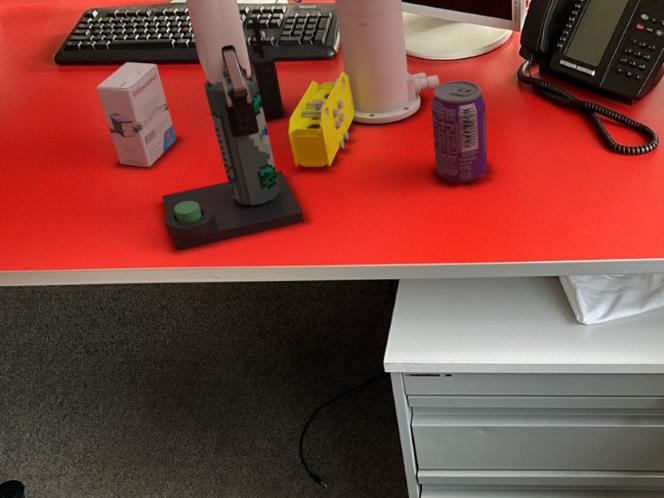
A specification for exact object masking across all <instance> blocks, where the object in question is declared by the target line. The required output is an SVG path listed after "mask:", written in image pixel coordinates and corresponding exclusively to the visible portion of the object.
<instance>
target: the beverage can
mask: <svg viewBox="0 0 664 498" xmlns="http://www.w3.org/2000/svg"><path fill="white" fill-rule="evenodd" d="M433 95H434V96H433V98H432V101H431V106H430V107H431V108H430V109H431V120H432V134H433V148H434V160H435V171H436V174H437V175H438V176H439V177H441V178H442V179H445V180H448V181H451V182H456V183H465V182H466V183H467V182H471V181H473V180H476V179H478V178H481V177H482V176H484V175H485V174H486V173H487V171H488V145H487V143H488V142H487V141H488V140H487V111H486V101H485V99H484V96H483V95H482V88H481V86H480V85H479V84H477V83H475V82H473V81H468V80H450V81H445V82H442V83H439V85H438V86H437V87H436V88H434V89H433Z"/></svg>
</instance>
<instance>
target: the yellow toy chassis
mask: <svg viewBox="0 0 664 498" xmlns="http://www.w3.org/2000/svg"><path fill="white" fill-rule="evenodd" d="M353 118H354V107H353V100H352V95H351V89H350V83H349V78H348V76H347V75H346V74H345V71H342V72H341V73H340V75H339V77H336V79H335V81H329V82H328V81H327V82H326V81H325V82H322V83H320V84H319V83H318V82H317V81H315V80H312V81H311V82H310V84H309V86H308V87H307V89H306V91H305V92H304V94H303V96H302V97H301V99H300V101H299V103H298V104H297V106H296V108H295V109H294V110H293V112H292V114H291V116H290V118H289V123H288V132H287V135H288V139H289V144H290V145H289V146H290V150H291V152H292V157H293V162H294V166H295V167H298V166H299V165H300V166H302V167H304V168H311V167H312V168H323V167H325V166H327V167H331V165H332V163H333V161H334V160H335V157H336V155H337V152H338V151H339V149H340V150H341V149H345V141H349V137H350V136H349V131H348V130H349V128H350V126H351V124H352V122H353ZM344 140H345V141H344Z"/></svg>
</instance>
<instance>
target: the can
mask: <svg viewBox="0 0 664 498" xmlns="http://www.w3.org/2000/svg"><path fill="white" fill-rule="evenodd" d="M223 75H224V79H227V78H230V77H229V74H228V73H226V74H223ZM205 81H206V82H204V83H203V88H204V92H205V96H206V99H207V104H208V108H209V110H210V114H211V119H212V122H213V127H214V131H215V135H216V139H217V143H218V147H219V150H220V154H221V155H220V156H221V158H222V162H223V166H224V170H225V174H226V178H227V182H228V183H229V187H230V191H231V195H232V198H233V201H237V204H238V203H241V204H244V205H249V204H251V205H257V204H262V203H267V201H269V200H273V198H276V197H275V196H278V192H280V188H279V184H278V179H277V174H276V171H277V169H276V165H275V161H274V155H273V152H272V151H273V150H272V146H271V142H270V137H269V131H268V127H267V123H266V119H265V117H264V112H263V107H262V103H261V98H260V93H259V88H258V84H257V80H256V78H255V75H253V76H251V75H250V77H249V78H248V79H247V78H246V81H247V85H248V89H249V93H250V97H251V100H252V101H253V104H254V109H255V114H256V118H257V123H258V128H259V132H258V133H257V134H252V135H247V136H242V137H237V138H235V137H233V135H232V133H231V128H230V124H229V120H228V116H227V111H226V107H225V105H227V101H226V97H225V94H224V90H223V86H222V83H221V82H216V85H213V84H211V83H210V82H209V81H208V79H206V80H205ZM227 85H228V89H229V92H230V89H232V84H227Z"/></svg>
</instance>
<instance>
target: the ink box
mask: <svg viewBox="0 0 664 498" xmlns="http://www.w3.org/2000/svg"><path fill="white" fill-rule="evenodd" d="M96 91H97V92H98V96H99V99H100V103H101V105H102V109H103V113H104V116H105V119H106V121H107V125H108V128H109V132H110V135H111V139H112V141H113V144H114V147H115V151H116V154H117V157H118V161H119V164H121V165H127V166H134V167H143V168H149V167H151V166H153V164H155V162H156V161H157V160H158V159H159V158H160V157H161V156H162V155H163V154H164V153H166V151H168V149H169V148H171V146H173V144H174V143H175V142H176V141H177V135H176V133H175V129H174V124H173V121H172V117H171V114H170V110H169V106H168V102H167V97H166V94H165V91H164V87H163V83H162V79H161V76H160V73H159V69H158V65H157V64H156V63H145V62H143V63H142V62H131V61H129V62H128V61H127V62H125V63H124V64H123V65H121V66H120V67H119V68H118V69H116V70H115V71H114V72H113V73H111V75H109V76H108V77H106V79H104V80H103V81H102V82H100V83H99V84H98V85H97V86H96Z"/></svg>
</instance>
